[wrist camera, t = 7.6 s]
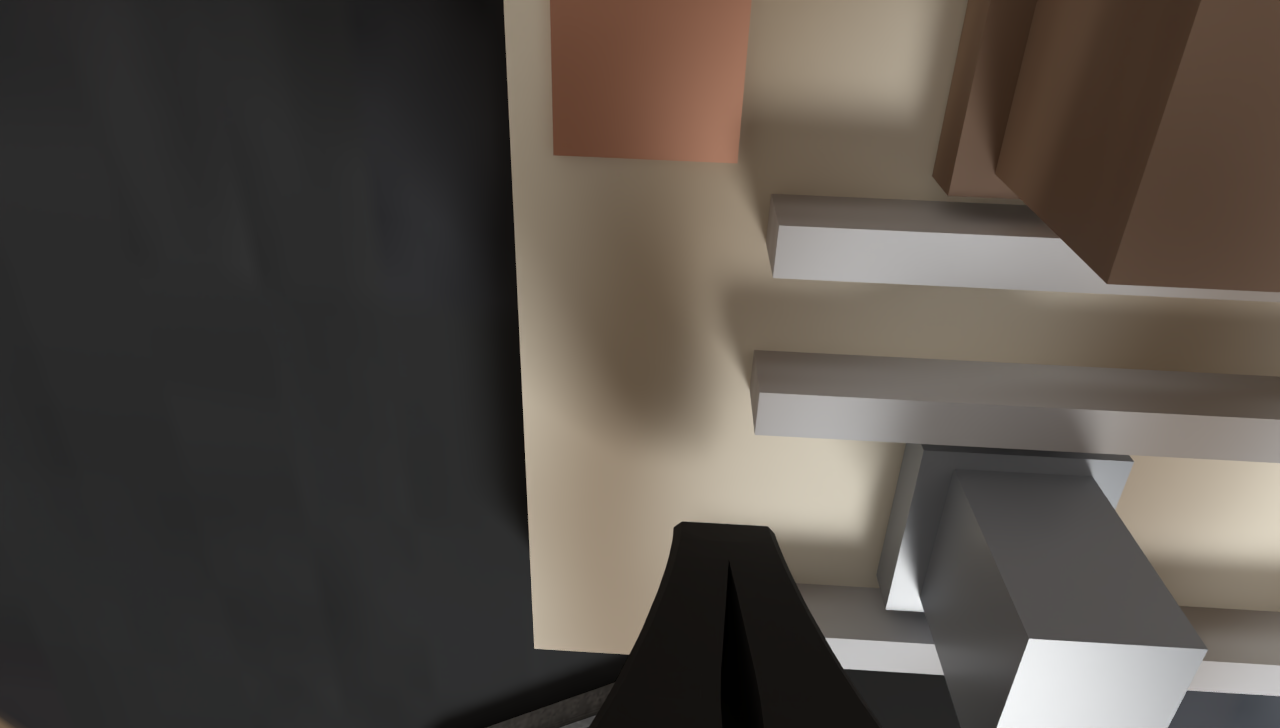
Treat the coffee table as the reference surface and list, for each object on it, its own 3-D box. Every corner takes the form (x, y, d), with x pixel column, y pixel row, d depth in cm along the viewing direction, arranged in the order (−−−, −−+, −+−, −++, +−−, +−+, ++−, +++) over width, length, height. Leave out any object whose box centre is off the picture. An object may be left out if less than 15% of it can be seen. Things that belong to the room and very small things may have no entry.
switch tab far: (1110, 430, 13) (1263, 633, 9) (1053, 584, 15) (1166, 807, 11) (911, 419, 13) (991, 617, 10) (876, 575, 15) (933, 792, 11)
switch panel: (2270, -305, 10) (2904, -376, 7) (1536, 631, 17) (1699, 777, 14) (519, -348, 10) (456, -431, 8) (549, 573, 18) (523, 702, 15)
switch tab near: (1262, -94, 9) (1593, -76, 6) (1165, 186, 11) (1382, 329, 8) (989, -103, 10) (1158, -90, 6) (932, 175, 11) (1040, 311, 8)
